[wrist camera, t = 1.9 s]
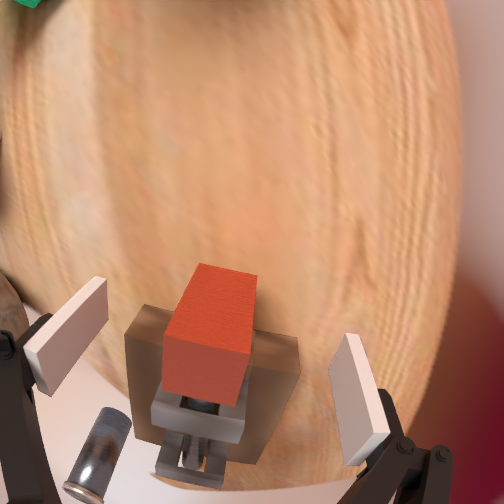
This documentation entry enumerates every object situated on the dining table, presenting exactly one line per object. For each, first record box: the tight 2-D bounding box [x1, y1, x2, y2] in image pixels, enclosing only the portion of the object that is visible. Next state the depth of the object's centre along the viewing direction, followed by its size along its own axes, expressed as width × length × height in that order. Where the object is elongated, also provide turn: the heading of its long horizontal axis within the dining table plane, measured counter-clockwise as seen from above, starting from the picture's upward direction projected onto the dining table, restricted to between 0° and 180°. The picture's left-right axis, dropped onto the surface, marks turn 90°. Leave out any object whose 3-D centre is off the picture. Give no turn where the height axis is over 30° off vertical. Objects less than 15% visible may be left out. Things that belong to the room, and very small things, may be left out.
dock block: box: [124, 304, 301, 489], centre depth 21 cm, size 12×14×8 cm
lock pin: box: [162, 263, 257, 470], centre depth 18 cm, size 4×18×7 cm, turn 168°
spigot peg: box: [62, 407, 132, 504], centre depth 23 cm, size 4×4×12 cm
